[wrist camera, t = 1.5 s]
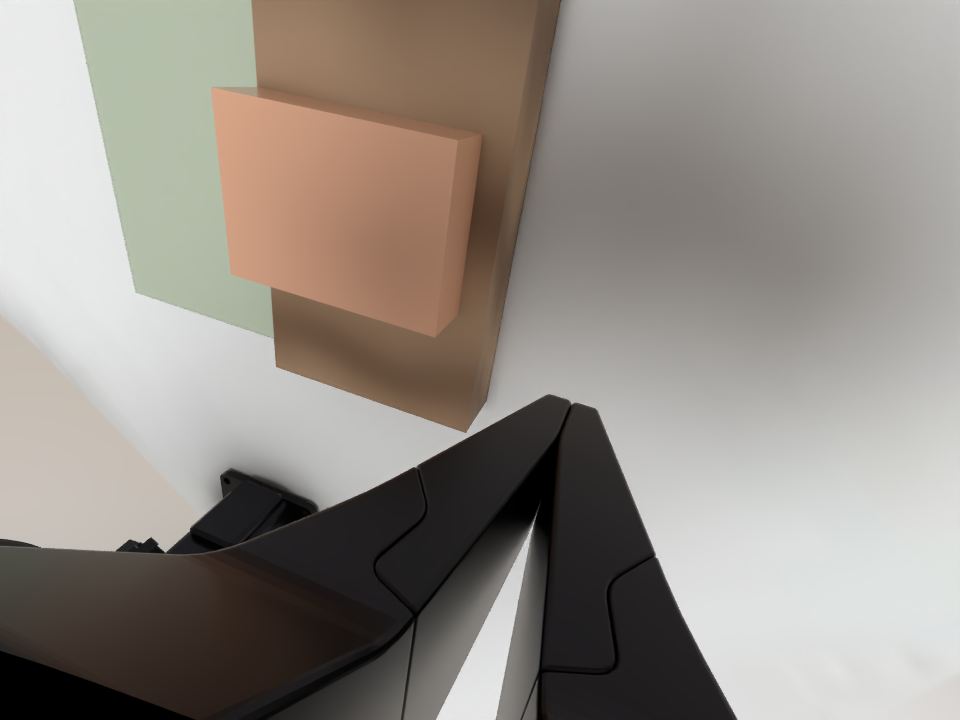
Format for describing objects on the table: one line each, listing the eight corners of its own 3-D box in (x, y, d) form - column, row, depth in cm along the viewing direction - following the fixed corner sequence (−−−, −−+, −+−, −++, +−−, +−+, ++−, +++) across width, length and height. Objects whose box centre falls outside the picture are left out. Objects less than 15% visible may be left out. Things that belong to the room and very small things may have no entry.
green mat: (303, 340, 25) (295, 345, 24) (145, 288, 27) (135, 292, 27) (288, -89, 17) (276, -94, 16) (64, -116, 19) (47, -121, 18)
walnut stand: (486, 401, 23) (465, 432, 21) (310, 343, 25) (275, 366, 23) (571, -56, 15) (551, -79, 13) (299, -88, 17) (243, -112, 15)
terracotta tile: (458, 314, 18) (435, 337, 17) (268, 258, 20) (230, 274, 19) (483, 133, 15) (457, 140, 14) (257, 87, 17) (210, 87, 15)
